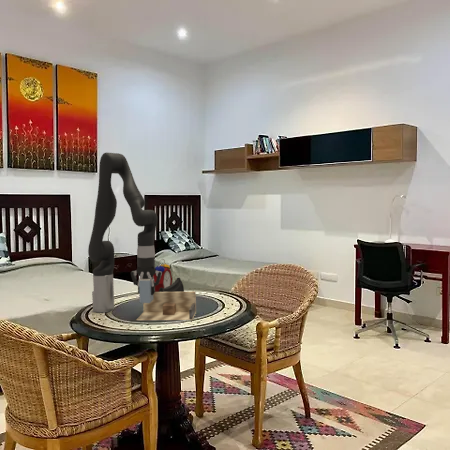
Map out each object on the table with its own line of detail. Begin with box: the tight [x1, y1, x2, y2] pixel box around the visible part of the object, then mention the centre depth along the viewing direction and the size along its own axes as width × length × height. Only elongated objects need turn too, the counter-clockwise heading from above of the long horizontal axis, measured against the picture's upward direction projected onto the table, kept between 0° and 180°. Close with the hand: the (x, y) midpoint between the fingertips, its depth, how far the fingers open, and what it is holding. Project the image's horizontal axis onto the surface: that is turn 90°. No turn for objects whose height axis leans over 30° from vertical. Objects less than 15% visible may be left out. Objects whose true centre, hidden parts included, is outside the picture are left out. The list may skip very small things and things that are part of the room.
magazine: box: [159, 277, 185, 292], centre depth 224 cm, size 17×3×30 cm
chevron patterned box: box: [135, 291, 197, 323], centre depth 197 cm, size 24×15×10 cm, turn 87°
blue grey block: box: [138, 279, 154, 304], centre depth 195 cm, size 5×7×10 cm, turn 177°
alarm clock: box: [153, 258, 173, 292], centre depth 247 cm, size 15×9×20 cm, turn 167°
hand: (146, 294), depth 195 cm, fingers closed on blue grey block, 4 cm apart
